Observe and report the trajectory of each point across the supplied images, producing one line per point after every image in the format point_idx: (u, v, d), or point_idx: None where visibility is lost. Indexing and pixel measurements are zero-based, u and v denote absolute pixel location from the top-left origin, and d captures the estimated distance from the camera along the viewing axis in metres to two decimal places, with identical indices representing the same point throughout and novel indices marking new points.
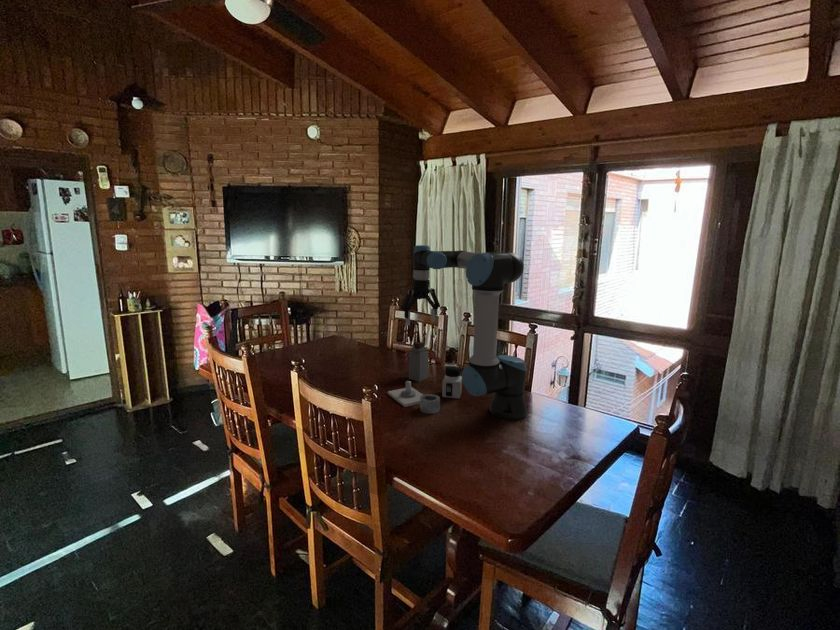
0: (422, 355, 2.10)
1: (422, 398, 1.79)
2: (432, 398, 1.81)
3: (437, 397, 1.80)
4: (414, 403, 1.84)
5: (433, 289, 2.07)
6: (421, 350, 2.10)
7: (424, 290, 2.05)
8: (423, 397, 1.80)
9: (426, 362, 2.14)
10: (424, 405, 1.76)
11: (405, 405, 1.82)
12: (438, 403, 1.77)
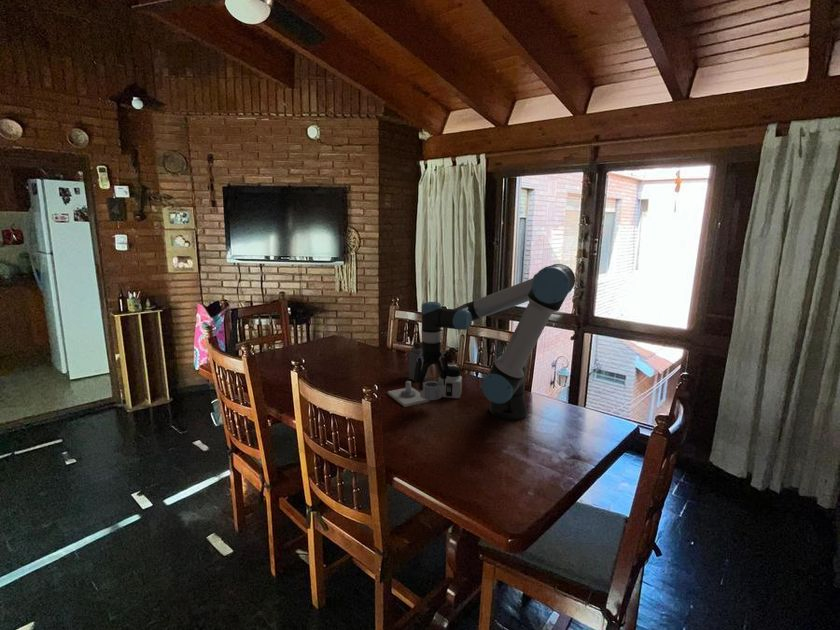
0: None
1: None
2: (434, 385, 1.80)
3: (439, 383, 1.78)
4: (414, 403, 1.84)
5: (446, 353, 1.77)
6: (421, 350, 2.10)
7: (436, 352, 1.75)
8: (425, 384, 1.78)
9: None
10: (426, 391, 1.75)
11: (405, 405, 1.82)
12: (440, 389, 1.76)
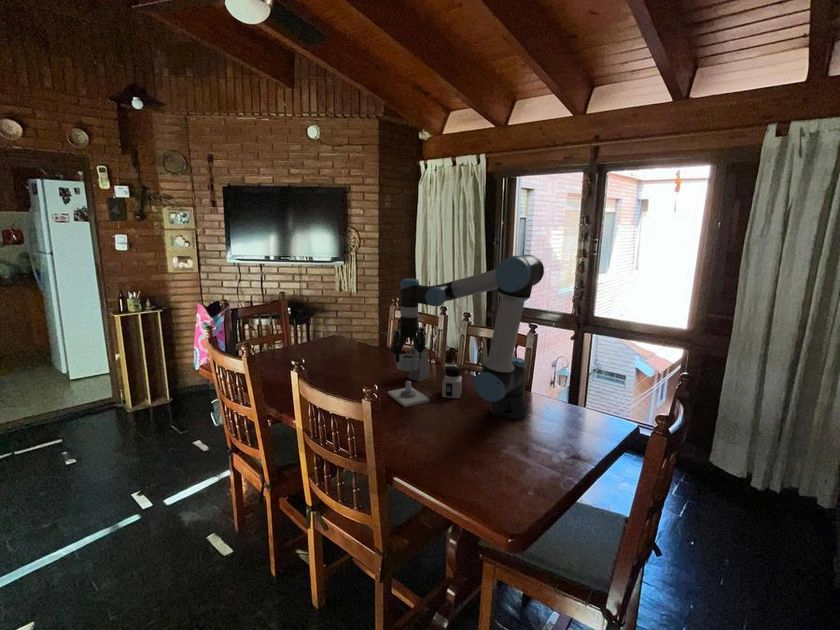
0: (422, 355, 2.10)
1: None
2: (410, 357, 1.90)
3: (415, 356, 1.89)
4: (414, 403, 1.84)
5: (422, 328, 1.88)
6: None
7: (413, 327, 1.85)
8: None
9: (426, 362, 2.14)
10: (402, 363, 1.85)
11: (405, 405, 1.82)
12: (415, 361, 1.86)
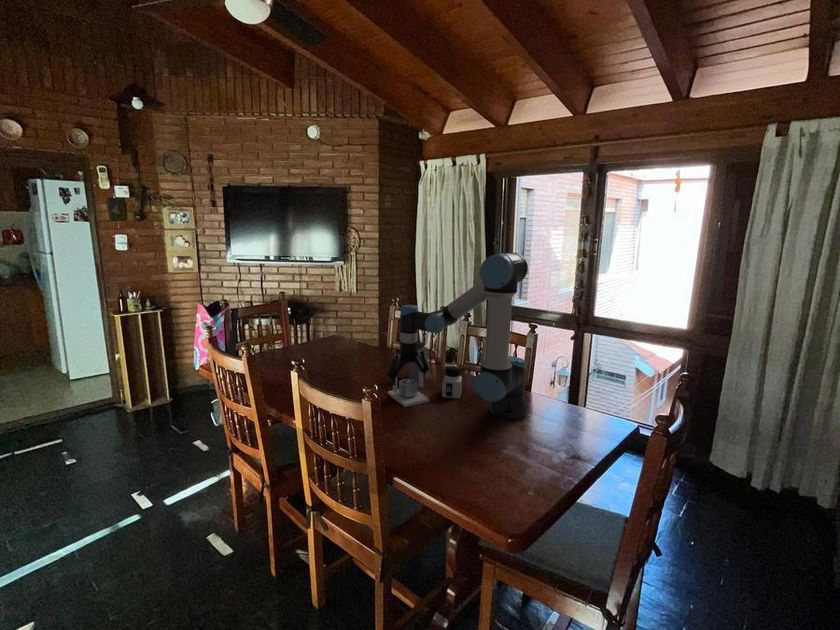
0: None
1: (401, 382, 1.90)
2: None
3: (415, 381, 1.91)
4: (414, 403, 1.84)
5: (422, 352, 1.90)
6: (421, 350, 2.10)
7: (412, 353, 1.87)
8: (402, 381, 1.91)
9: None
10: (402, 388, 1.88)
11: (405, 405, 1.82)
12: (415, 387, 1.89)
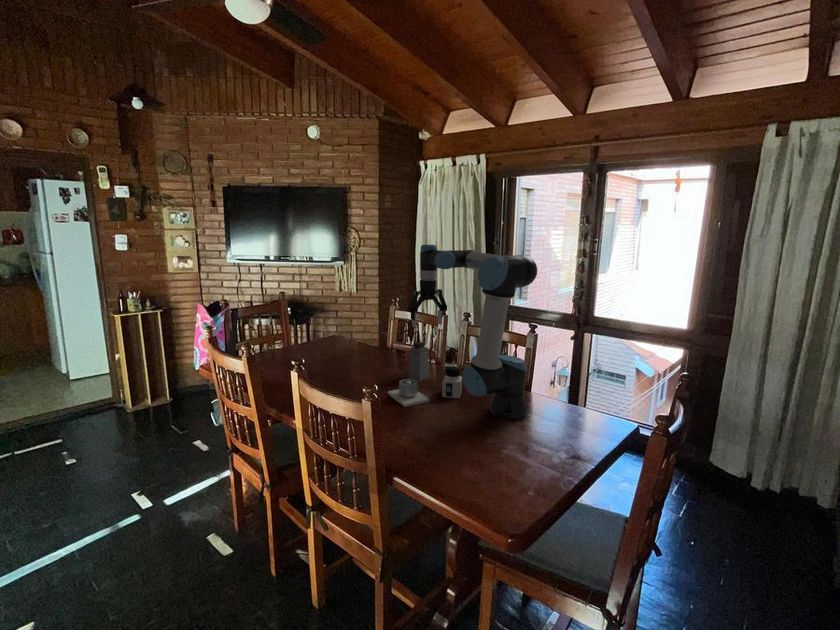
0: (422, 355, 2.10)
1: (401, 382, 1.90)
2: None
3: (415, 381, 1.91)
4: (414, 403, 1.84)
5: (440, 290, 2.00)
6: (421, 350, 2.10)
7: (431, 291, 1.98)
8: (402, 381, 1.91)
9: (426, 362, 2.14)
10: (402, 388, 1.88)
11: (405, 405, 1.82)
12: (415, 387, 1.89)
